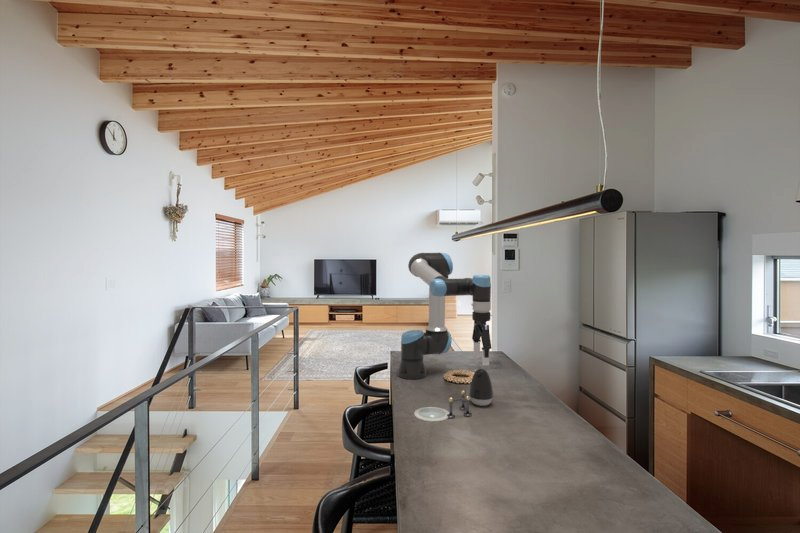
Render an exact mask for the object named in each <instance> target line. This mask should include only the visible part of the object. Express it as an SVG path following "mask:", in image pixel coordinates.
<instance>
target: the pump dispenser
mask: <svg viewBox="0 0 800 533" xmlns="http://www.w3.org/2000/svg"><path fill="white" fill-rule="evenodd" d="M468 396H469V397H470V400H471V402H472V403H473V404H474V405H476V406H479V407H487V406H488V405H490V404H491V403H492V401H493V398H494V388H493V384H492V380H491V376H490V374H489V372H488V371H487V370H486V369H484V368H478V369H477V370H476V371H474V373H473V375H472V378H471V381H470V385H469V392H468Z"/></svg>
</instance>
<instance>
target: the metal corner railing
mask: <svg viewBox="0 0 800 533" xmlns="http://www.w3.org/2000/svg"><path fill="white" fill-rule="evenodd" d="M460 393H461V398H453V397H451V396H450V397H448V401H449V403H448V404H449V408H448V409H449V410H448V412H449V414H447V416H448V419H455V418H456V414H453V403H455V402H461V405H460V406H459V408H458V409H459V410H460V411H465V412H463V416H464V417H466V418H471V417H473V416H472V415H473V414H472V413H471V412H470V400H471V399H470V396H469V395H467V393H466V391H465V390H461V392H460Z"/></svg>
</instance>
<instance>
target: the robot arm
mask: <svg viewBox="0 0 800 533" xmlns="http://www.w3.org/2000/svg"><path fill="white" fill-rule="evenodd" d="M453 270H454V265H453V260H452V258H451V256H450V255H449V254H448V253H446V252H419V253H416V254H414V255H413V256H412V257H411V258H410V259H409V261H408V271H409V273H411V275H413V276H415V277H417V278H419V279H420V280H421V281H423V282H424V283H425V284H427V285H428V286H429V288H428V325H427V327H425V332H424V331H423V330H422V329H413V330H407V331H404V332H403V333H402V334H401V340H400V344H401V345H400V357H401V358H400V363H399V366H398V370H397V376H398V378H401V379H405V380H420V379H424V378H426V377H427V374H428V373H427V369H426V365H425V362H424V356H427V355H429V356H430V355H441V354H447V353H448V352H449V351H450V349H451V347H452V341H453V340H452V334H451V333H450V331H448V328H447V326H445V325H446V297H451V296H452V297H453V296H456V297H457V296H458V297H459V296H472V303H471V307H472V318H471V319H472V320H473V329H472V330H473V331H472V337H471V339H472V342H473V358H482V360H481V361H482V364H481V365H482V366H490V350H491V349H492V343H491V342H492V341H491V335H490V325H489V324H487V322H489V321H491V312H490V311H491V307H492V306H491V302H492V301H491V300H492V299H491V297H492V296H491V294H492V292H491V291H492V290H491V288H492V286H491V285H492V282H491V276H490V275H489V274H488V275H487V274H473V276H472V278H471V277H464V278H449V276H451V274H452V273H453ZM481 343H482V347H481ZM481 351H482V357H481Z"/></svg>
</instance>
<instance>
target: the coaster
mask: <svg viewBox="0 0 800 533" xmlns="http://www.w3.org/2000/svg"><path fill="white" fill-rule="evenodd" d="M413 414H414V417H415V418H416V419H418V420H420V421H424V422H433V423H435V422H442V421H443V422H444V421H446V420H447V419H449V418H448V416H447V414H449V410H447V409H445V408H442V407H438V406H425V407H424V406H423V407H419V408H417V409H416V410H415V411H414V413H413Z"/></svg>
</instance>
